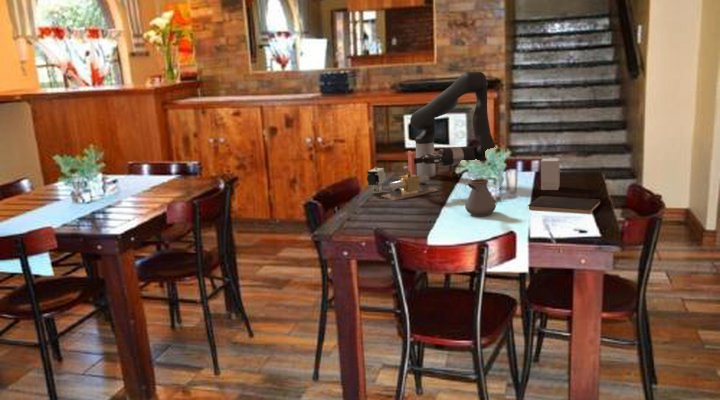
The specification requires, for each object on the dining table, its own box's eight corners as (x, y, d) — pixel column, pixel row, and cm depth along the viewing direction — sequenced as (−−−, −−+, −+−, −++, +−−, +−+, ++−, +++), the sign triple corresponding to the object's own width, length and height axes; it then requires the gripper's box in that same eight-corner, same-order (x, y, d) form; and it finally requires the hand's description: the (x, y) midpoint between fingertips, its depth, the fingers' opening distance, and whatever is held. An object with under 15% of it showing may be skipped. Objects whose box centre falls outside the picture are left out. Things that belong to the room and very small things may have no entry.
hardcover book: (590, 215, 226) (590, 209, 225) (527, 211, 239) (527, 205, 238) (600, 205, 239) (600, 199, 238) (540, 201, 251) (540, 195, 251)
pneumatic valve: (367, 195, 284) (365, 169, 282) (378, 190, 294) (376, 165, 292) (378, 196, 282) (376, 169, 279) (389, 190, 292) (387, 165, 289)
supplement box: (558, 190, 266) (558, 160, 263) (540, 190, 269) (540, 161, 266) (560, 186, 273) (559, 157, 270) (542, 186, 275) (542, 158, 273)
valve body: (424, 187, 291) (422, 165, 289) (437, 190, 283) (436, 168, 280) (381, 197, 279) (379, 174, 277) (394, 200, 271) (392, 176, 268)
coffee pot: (470, 209, 245) (468, 172, 242) (499, 210, 240) (498, 172, 237) (453, 224, 226) (452, 183, 223) (485, 225, 221) (483, 184, 218)
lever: (403, 170, 280) (401, 149, 278) (412, 169, 281) (410, 148, 279) (409, 175, 266) (407, 154, 264) (418, 174, 267) (417, 153, 265)
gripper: (444, 146, 277) (407, 150, 273) (456, 149, 264) (418, 154, 260) (445, 162, 278) (408, 167, 274) (457, 167, 266) (419, 172, 262)
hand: (413, 161), depth 267 cm, fingers closed
